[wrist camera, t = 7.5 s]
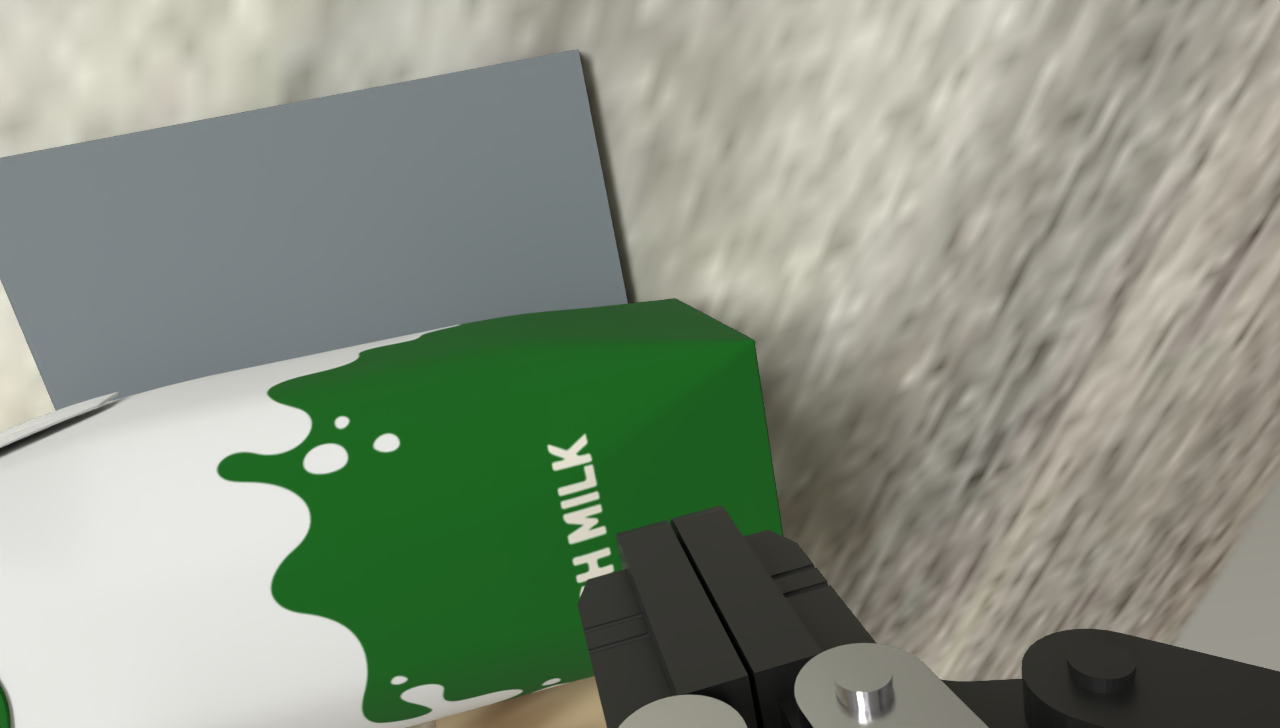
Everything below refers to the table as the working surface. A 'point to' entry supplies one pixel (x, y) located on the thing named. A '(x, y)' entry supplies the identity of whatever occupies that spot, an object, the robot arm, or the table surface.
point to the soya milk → (362, 520)
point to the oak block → (538, 710)
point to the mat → (307, 228)
